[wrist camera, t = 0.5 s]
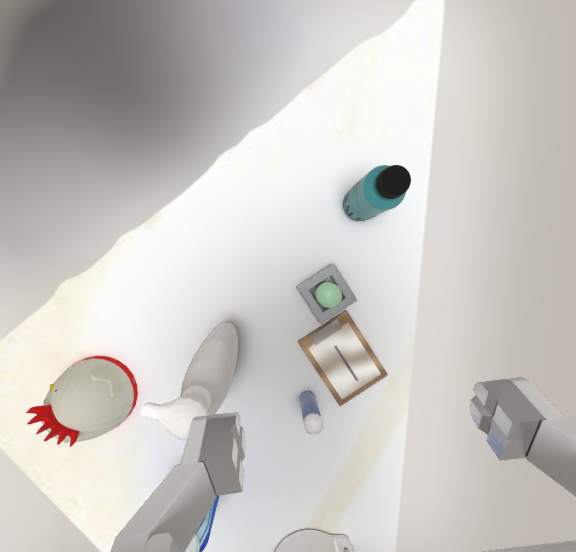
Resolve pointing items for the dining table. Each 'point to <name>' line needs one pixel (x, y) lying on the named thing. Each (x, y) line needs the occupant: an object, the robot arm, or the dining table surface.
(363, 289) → the dining table surface
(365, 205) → the beverage bottle
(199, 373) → the soap bottle
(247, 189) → the dining table surface
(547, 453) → the robot arm
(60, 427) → the kitchen timer
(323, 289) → the button
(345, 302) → the button housing
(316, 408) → the marker
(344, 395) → the clipboard
